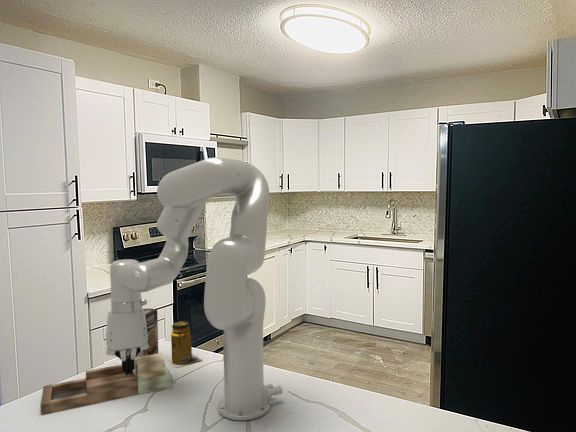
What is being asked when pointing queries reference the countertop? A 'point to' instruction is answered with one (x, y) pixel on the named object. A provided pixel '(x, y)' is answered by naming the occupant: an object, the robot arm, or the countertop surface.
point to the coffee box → (149, 334)
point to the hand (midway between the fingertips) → (128, 372)
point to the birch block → (149, 366)
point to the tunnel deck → (99, 388)
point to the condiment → (182, 345)
